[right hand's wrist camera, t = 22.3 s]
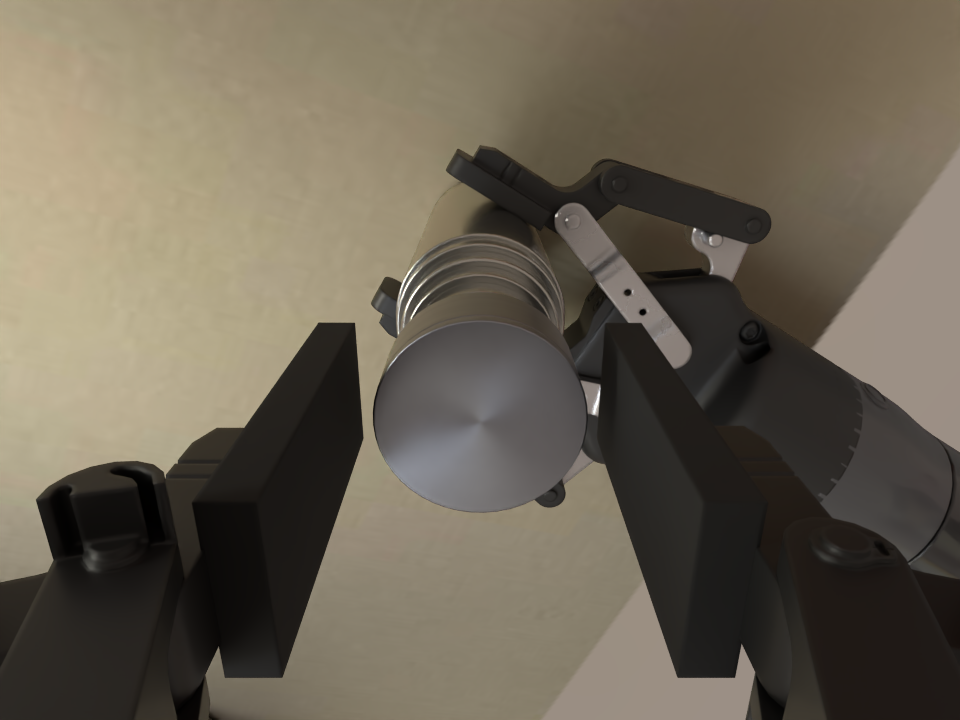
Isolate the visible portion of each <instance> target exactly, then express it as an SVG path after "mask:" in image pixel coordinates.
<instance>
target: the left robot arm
mask: <svg viewBox="0 0 960 720" xmlns="http://www.w3.org/2000/svg"><path fill="white" fill-rule="evenodd" d="M446 171H447V172H448V173H449V174H451V175H452V176H453V177H455V178H456V179H458V180H459V181H461V182H463V183H464V184H466V185H467V186H469V187H471V188H472V189H474V190H475V191H477V192H479V193H480V194H482V195H483V196H485V197H487V198H488V199H490V200H491V201H493V202H495V203H496V204H498V205H500V206H501V207H503V208H504V209H506V210H508V211H509V212H511V213H513V214H515V215H516V216H518V217H520V218H521V219H522V220H524V221H525V222H527V223H528V224H530V225H532V226H533V227H535V228H536V229H538V230H540V231H541V230H542V228H543V226H546V227H548V228H549V229H551V230H552V231H554V232H556V233H557V234H559V235H560V236H561V237H562V238H563V240H564V241H565V242H566V243H567V245H568V246H569V247H570V248H571V250H572V251H573V252H574V253H575V255H576V256H577V257H578V259H579V260H580V261H581V262H582V264H583V265H584V266H585V267H586V269H587V270H588V271H589V273H590V274H591V276H592V277H593V278H594V280H595V281H596V282H597V284H596V285H595V286H594V288H593V289H592V291H591V292H590V294H589V295H588V296H587V298H586V300H585V303H584V305H583V308H582V311H581V314H580V316H579V318H578V319H577V320H576V321H575V322H574V323H573V324H572V325H570V326H569V327H568V328H567V329H566V330H565V331H564V334H563V337H564V339H565V341H566V343H567V345H568V346H569V349H570V352H571V355H572V358H573V361H574V363H575V366H576V369H577V372H578V375H579V378H580V381H581V383H582V386H583V389H584V392H585V396H586V401H587V408H588V423H587V432H586V436H585V440H584V443H583V446H582V448H581V451H580V453H579V455H578V457H577V459H576V461H575V462H574V464H573V466H572V467H571V468H570V470H569V471H568V472H567V474H566V475H565V476H564V477H563V478H562V479H561V480H560V481H559V482H558V483H557V484H556V485H555V486H554V487H552V488H551V489H550V490H549V491H547V492H546V493H544V494H543V495H541V496H539V497H538V498H536V499H534V500H535V501H536V502H538V503H539V504H540V505H542V506H544V507H555V506H558V505H559V504H561V503H562V502H563V500H564V498H565V488H564V484H565V483H566V482H568V481H569V480H570V479H572V478H573V477H574V476H575V475H577V474H578V473H579V472H580V471H582V470H583V469H584V468H586V467H587V466H588V465H589V464H591V463H592V462H593V461H595V462H598V463H601V464H605V462H604V459H603V456H602V453H601V450H600V447H599V444H598V441H597V426H598V412H599V398H600V385H601V371H602V358H603V344H604V331H605V323H642V324H643V326H644V327H645V329H646V330H647V331H648V333H649V334H650V336H651V337H652V339H653V340H654V341H655V343H656V344H657V346H658V347H659V348H660V350H661V351H662V353H663V354H664V355H665V357H666V358H667V360H668V361H669V363H670V364H671V365H672V367H673V368H674V370H675V371H676V372H677V374H678V375H679V377H680V378H681V380H682V381H683V382H684V384H685V385H686V387H687V388H688V389H689V391H690V392H691V394H692V395H693V397H694V398H695V399H696V401H697V402H698V404H699V405H700V406H701V408H702V409H703V411H704V412H705V414H706V415H707V416H708V418H709V419H710V421H711V422H712V423H713V425H714V426H745V427H746V428H748V429H750V430H751V431H753V432H755V433H756V434H758V435H760V436H761V437H763V438H765V439H766V440H768V441H769V442H770V443H771V445H772V446H773V447H774V448H775V450H776V451H777V452H778V453H779V454H780V456H781V457H782V460H783V461H785V462H786V463H787V464H788V465H789V466H790V468H791V469H792V470H793V471H794V472H795V476H798V477H799V478H800V480H801V481H802V482H803V483H804V484H805V486H806V487H807V488H808V489H809V490H810V492H811V493H812V494H813V495H814V496H815V498H816V499H817V500H818V501H819V502H820V504H821V505H822V506H823V507H824V508H825V510H826V511H827V512H828V513H829V514H830V516H831V517H832V518H834V519H838V520H843V521H847V522H851V523H855V524H857V525H860V526H862V527H864V528H867V529H869V530H871V531H874V532H876V533H878V534H879V535H881V536H882V537H884V538H885V539H886V540H888V541H889V542H891V543H892V544H894V545H895V546H896V547H897V548H898V550H899V551H900V552H901V553H902V555H903V556H904V557H905V558H906V559H907V561H908V563H909V565H910V567H911V569H913V570H917V571H921V572H925V573H930V574H935V575H940V576H945V577H950V578H955V579H960V452H958V451H957V450H955V449H954V448H952V447H950V446H949V445H947V444H946V443H944V442H943V441H941V440H939V439H938V438H936V437H935V436H933V435H932V434H931V433H929V432H928V431H926V430H925V429H924V428H922V427H921V426H920V425H919V424H918V423H917V422H916V421H914V420H913V419H912V418H911V417H910V416H909V415H908V414H907V413H906V412H905V411H904V410H902V409H901V408H900V407H899V406H898V405H896V404H895V403H894V402H892V401H891V400H889V399H888V398H886V397H885V396H883V395H882V394H881V393H880V392H879V391H878V390H876V389H875V388H874V387H873V386H871V385H869V384H866V383H864V382H862V381H860V380H859V379H857V378H856V377H854V376H852V375H851V374H849V373H848V372H846V371H845V370H843V369H841V368H840V367H838V366H837V365H835V364H834V363H832V362H831V361H829V360H827V359H826V358H824V357H823V356H821V355H820V354H818V353H817V352H815V351H813V350H812V349H810V348H809V347H807V346H806V345H804V344H803V343H801V342H799V341H798V340H796V339H795V338H793V337H792V336H790V335H789V334H787V333H785V332H784V331H782V330H781V329H779V328H778V327H776V326H775V325H773V324H771V323H770V322H768V321H767V320H765V319H764V318H762V317H761V316H759V315H757V314H756V313H754V312H753V311H751V310H750V309H748V308H747V306H746V305H745V303H744V302H743V300H742V298H741V295H740V292H739V290H738V289H737V287H736V286H735V285H734V284H733V283H732V282H733V279H734V277H735V275H736V273H737V271H738V268H739V266H740V264H741V262H742V259H743V257H744V255H745V253H746V251H747V248H748V246H749V244H754V243H757V242H760V241H761V240H763V239H764V238H765V237H766V236H767V234H768V233H769V231H770V228H771V218H770V216H769V214H768V213H767V212H766V211H765V210H763V209H761V208H758V207H756V206H754V205H751V204H749V203H746V202H744V201H741V200H739V199H736V198H733V197H730V196H727V195H724V194H721V193H717V192H714V191H711V190H708V189H705V188H702V187H698V186H695V185H692V184H689V183H686V182H683V181H679V180H676V179H673V178H670V177H667V176H664V175H660V174H657V173H654V172H651V171H648V170H645V169H641V168H638V167H635V166H632V165H629V164H625V163H622V162H619V161H616V160H613V159H602V160H600V161H598V162H597V163H595V165H594V166H593V167H592V169H591V171H590V172H589V173H588V174H587V175H586V176H584V177H583V178H582V179H580V180H579V181H578V182H577V183H575V184H573V185H571V186H568V187H557V186H554V185H552V184H551V183H549V182H547V181H546V180H544V179H543V178H541V177H540V176H538V175H537V174H535V173H533V172H532V171H530V170H529V169H527V168H526V167H524V166H523V165H521V164H519V163H518V162H516V161H515V160H513V159H512V158H510V157H508V156H507V155H505V154H504V153H502V152H501V151H499V150H498V149H496V148H493V147H487V146H481V145H480V146H479V148H478V150H477V151H476V153H475V155H474V156H473V157H472V156H470V155H468V154H467V153H465V152H463V151H462V150H460V149H457V151H456V153H455V154H454V156H453V158H452V160H451V161H450V163H449V165H448V167H447V169H446ZM618 204H620V205H623V206H626V207H629V208H633V209H636V210H639V211H642V212H646V213H649V214H652V215H655V216H659V217H662V218H665V219H668V220H672V221H675V222H678V223H681V224H685V225H686V227H685V231H684V235H685V239H686V241H687V243H688V244H689V245H691V246H692V247H694V248H695V249H696V250H698V251H699V252H700V253H701V254H702V257H703V265H702V268H695V269H682V270H669V271H656V272H643V273H635V271H634V270H633V269H632V267H631V266H630V265H629V263H628V262H627V261H626V259H625V258H624V257H623V256H622V254H621V253H620V252H619V251H618V249H617V248H616V247H615V245H614V244H613V243H612V241H611V240H610V239H609V238H608V236H607V235H606V234H605V232H604V231H603V230H602V228H601V227H600V226H599V224H598V223H597V222H596V221H597V220H598V219H600V218H601V217H602V216H604V215H605V214H606V213H608V212H609V211H610V210H611V209H613V208H614V207H615V206H617V205H618ZM401 285H402V283H401V282H399V281H397V280H395V279H393V278H390V277H385V278H384V280H383V282H382V284H381V285H380V287H379V289H378V291H377V292H376V294H375V296H374V298H373V300H372V302H371V304H372V306H373V307H374V308H375V309H376V310H377V311H379V312H380V313H382V314H383V315H382V318H381V320H380V322H379V323H380V324H381V325H382V327H383V328H384V329H385V330H386V331H387V332H388V334H390V335H391V336H393V337H395V338H397V337H398V336H397V326H396V305H397V299H398V294H399V291H400V288H401ZM208 720H212V719H211V718H209V717H208Z"/></svg>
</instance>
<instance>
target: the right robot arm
mask: <svg viewBox="0 0 960 720" xmlns="http://www.w3.org/2000/svg"><path fill="white" fill-rule="evenodd" d="M362 441H363V426H362V412H361V399H360V385H359V372H358V358H357V344H356V331H355V323H318V324H317V326H316V327H315V329H314V330H313V331H312V333H311V334H310V336H309V337H308V339H307V340H306V341H305V343H304V344H303V346H302V347H301V348H300V350H299V351H298V353H297V354H296V355H295V357H294V358H293V360H292V361H291V363H290V364H289V365H288V367H287V368H286V370H285V371H284V372H283V374H282V375H281V377H280V378H279V380H278V381H277V382H276V384H275V385H274V387H273V388H272V389H271V391H270V392H269V394H268V395H267V397H266V398H265V399H264V401H263V402H262V404H261V405H260V406H259V408H258V409H257V411H256V412H255V413H254V415H253V416H252V418H251V419H250V421H249V422H248V423H247V425H246V426H245V428H216V429H214V430H213V431H211V432H209V433H208V434H206V435H204V436H203V437H201V438H199V439H198V440H196V441H195V442H193V443H192V444H191V445H190V446H189V447H188V449H187V450H186V451H185V452H184V454H183V455H182V456H181V457H180V458H179V460H178V464H174V466H173V467H172V468H171V469H170V470H169V472H168V473H167V474H166V479H165V476H164V472H163V471H162V470H160V469H159V468H158V467H156V466H155V465H153V464H148V463H143V462H139V461H126V462H112V463H107V464H102V465H97V466H93V467H89V468H86V469H84V470H81V471H78V472H76V473H73V474H70V475H68V476H66V477H64V478H62V479H61V480H59V481H57V482H56V483H54V484H52V485H50V486H49V487H48V488H47V489H46V490H45V491H44V492H43V493H42V494H41V495H40V496H39V497H38V498H37V499H36V502H37V505H38V509H39V512H40V515H41V519H42V522H43V526H44V529H45V532H46V536H47V539H48V543H49V546H50V550H51V553H52V556H53V560H54V561H53V563H52V565H51V567H50V569H49V571H48V572H47V573H43V574H39V575H35V576H30V577H25V578H20V579H15V580H10V581H5V582H0V720H208V716H209V708H210V699H209V692H208V686H207V681H206V676H205V674H206V672H207V670H208V668H209V665H210V663H211V661H212V659H213V657H214V655H215V653H216V651H217V649H218V646H219V649H220V654H221V659H222V665H223V670H224V675H225V678H282V677H283V674H284V671H285V668H286V665H287V662H288V660H289V657H290V654H291V651H292V648H293V645H294V642H295V639H296V636H297V633H298V630H299V627H300V624H301V621H302V618H303V615H304V612H305V609H306V606H307V603H308V600H309V598H310V595H311V592H312V589H313V586H314V583H315V580H316V577H317V574H318V571H319V568H320V565H321V562H322V559H323V556H324V553H325V550H326V547H327V544H328V541H329V539H330V536H331V533H332V530H333V527H334V524H335V521H336V518H337V515H338V512H339V509H340V506H341V503H342V500H343V497H344V494H345V491H346V488H347V485H348V482H349V480H350V477H351V474H352V471H353V468H354V465H355V462H356V459H357V456H358V453H359V450H360V447H361V444H362ZM597 441H598V444H599V447H600V450H601V453H602V456H603V459H604V462H605V465H606V468H607V471H608V474H609V477H610V480H611V482H612V485H613V488H614V491H615V494H616V497H617V500H618V503H619V506H620V509H621V512H622V515H623V518H624V521H625V524H626V527H627V530H628V533H629V536H630V539H631V541H632V544H633V547H634V550H635V553H636V556H637V559H638V562H639V565H640V568H641V571H642V574H643V577H644V580H645V583H646V586H647V589H648V592H649V595H650V598H651V601H652V603H653V606H654V609H655V612H656V615H657V618H658V621H659V624H660V627H661V630H662V633H663V636H664V639H665V642H666V645H667V648H668V651H669V653H670V657H671V659H672V662H673V665H674V668H675V671H676V674H677V677H678V678H735V675H736V670H737V665H738V659H739V654H740V649H741V644H742V645H743V647H744V649H745V651H746V653H747V656H748V658H749V660H750V662H751V664H752V666H753V668H754V670H755V676H754V681H753V686H752V691H751V696H750V701H749V706H748V711H747V715H746V720H960V579H955V578H950V577H945V576H940V575H935V574H930V573H925V572H921V571H917V570H913V569H911V567H910V565H909V563H908V561H907V559H906V558H905V557H904V556H903V555H902V553H901V552H900V551H899V550H898V548H897V547H896V546H895V545H894V544H892V543H891V542H889V541H888V540H886V539H885V538H884V537H882V536H881V535H879V534H878V533H876V532H874V531H871V530H869V529H867V528H864V527H862V526H860V525H857V524H855V523H851V522H847V521H843V520H838V519H834V518H832V517H831V516H830V514H829V513H828V512H827V511H826V510H825V508H824V507H823V506H822V505H821V504H820V502H819V501H818V500H817V499H816V498H815V496H814V495H813V494H812V493H811V492H810V490H809V489H808V488H807V487H806V486H805V484H804V483H803V482H802V481H801V480H800V478H799V477H798V476H795V472H794V471H793V470H792V469H791V468H790V466H789V465H788V464H787V463H786V462H785V461H783V460H782V457H781V456H780V454H779V453H778V452H777V451H776V450H775V448H774V447H773V446H772V445H771V443H770V442H769V441H768V440H766V439H765V438H763V437H761V436H760V435H758V434H756V433H755V432H753V431H751V430H750V429H748V428H746V427H745V426H714V425H713V423H712V422H711V421H710V419H709V418H708V416H707V415H706V414H705V412H704V411H703V409H702V408H701V406H700V405H699V404H698V402H697V401H696V399H695V398H694V397H693V395H692V394H691V392H690V391H689V389H688V388H687V387H686V385H685V384H684V382H683V381H682V380H681V378H680V377H679V375H678V374H677V372H676V371H675V370H674V368H673V367H672V365H671V364H670V363H669V361H668V360H667V358H666V357H665V355H664V354H663V353H662V351H661V350H660V348H659V347H658V346H657V344H656V343H655V341H654V340H653V339H652V337H651V336H650V334H649V333H648V331H647V330H646V329H645V327H644V326H643V324H642V323H605V331H604V344H603V358H602V371H601V385H600V398H599V412H598V426H597Z"/></svg>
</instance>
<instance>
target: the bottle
mask: <svg viewBox="0 0 960 720" xmlns="http://www.w3.org/2000/svg"><path fill="white" fill-rule="evenodd" d="M472 292H491V293H497V294H503V295H507V296H510V297H514V298H516V299H519V300H521V301H523V302H526V303H528V304H529V305H531V306H533V307H534V308H536V309H538V310H539V311H540V312H541V313H543V314H544V315H545V316H546V317H548V318H549V319H550V320H551V322H552V323H553V324H554V325H555V326H556V327H557V328H558V330H559V331H560V333H561V334H562V335H563V334H564V318H565V308H564V300H563V296H562V292H561V289H560V286H559V283H558V281H557V279H556V276H555V274H554V271H553V269H552V266H551V264H550V262H549V259H548V257H547V254H546V252H545V250H544V247H543V245H542V242H541V240H540V237H539V235H538V233H537V230H536V228H535V227H533V226H532V225H530V224H528V223H527V222H525V221H524V220H522V219H521V218H520V217H518V216H516V215H515V214H513V213H511V212H509V211H508V210H506V209H504V208H503V207H501V206H500V205H498V204H496V203H495V202H493V201H491V200H490V199H488V198H487V197H485V196H483V195H482V194H480V193H479V192H477V191H475V190H474V189H472V188H471V187H469V186H467V185H466V184H464V183H463V182H462V183H459V184H457V185H455V186H454V187H452V188H450V189H449V190H448V191H447V192H445V193H444V194H443V195H442V196H441V197H440V199H439V200H438V201H437V203H436V204H435V206H434V208H433V210H432V212H431V215H430V217H429V220H428V222H427V224H426V227H425V229H424V232H423V234H422V237H421V239H420V241H419V244H418V246H417V249H416V251H415V253H414V256H413V258H412V261H411V263H410V266H409V268H408V270H407V273H406V275H405V278H404V280H403V282H402V285H401V288H400V291H399V294H398V299H397V305H396V326H397V336H398V335H399V334H400V332H401V331H402V329H403V328H404V327H405V326H406V325H407V323H408V322H409V321H410V320H411V319H412V318H413V317H415V316H416V315H417V314H418V313H419V312H421V311H422V310H424V309H425V308H426V307H428V306H430V305H432V304H434V303H435V302H437V301H439V300H442V299H445V298H447V297H450V296H454V295H458V294H463V293H472Z"/></svg>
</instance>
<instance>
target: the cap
mask: <svg viewBox="0 0 960 720" xmlns="http://www.w3.org/2000/svg"><path fill="white" fill-rule="evenodd" d="M587 423H588V408H587V401H586V396H585V392H584V389H583V386H582V383H581V381H580V378H579V375H578V372H577V369H576V366H575V363H574V361H573V358H572V355H571V352H570V349H569V346H568V345H567V343H566V341H565V339H564V337H563V335H562V334H561V333H560V331H559V330H558V328H557V327H556V326H555V325H554V324H553V323H552V322H551V320H550V319H549V318H548V317H546V316H545V315H544V314H543V313H541V312H540V311H539V310H538V309H536V308H534V307H533V306H531V305H529V304H528V303H526V302H523V301H521V300H519V299H516V298H514V297H510V296H507V295H503V294H497V293H491V292H472V293H463V294H458V295H454V296H450V297H447V298H445V299H442V300H439V301H437V302H435V303H434V304H432V305H430V306H428V307H426V308H425V309H424V310H422V311H421V312H419V313H418V314H417V315H416V316H415V317H413V318H412V319H411V320H410V321H409V322H408V323H407V325H406V326H405V327H404V328H403V329H402V331H401V332H400V334H399V335H398V337H397V339H396V340H395V342H394V344H393V346H392V349H391V351H390V354H389V357H388V359H387V362H386V365H385V368H384V371H383V374H382V377H381V379H380V382H379V385H378V388H377V392H376V396H375V399H374V407H373V426H374V432H375V437H376V440H377V443H378V446H379V449H380V451H381V453H382V455H383V457H384V459H385V461H386V463H387V464H388V466H389V467H390V469H391V470H392V472H393V473H394V474H395V475H396V476H397V477H398V478H399V479H400V481H401V482H403V483H404V484H405V485H406V486H407V487H408V488H410V489H411V490H412V491H414V492H415V493H417V494H418V495H420V496H421V497H423V498H425V499H427V500H429V501H431V502H433V503H435V504H438V505H440V506H443V507H446V508H450V509H454V510H458V511H466V512H483V513H484V512H496V511H502V510H507V509H511V508H514V507H517V506H521V505H523V504H526V503H528V502H530V501H532V500H534V499H536V498H538V497H539V496H541V495H543V494H544V493H546V492H547V491H549V490H550V489H551V488H552V487H554V486H555V485H556V484H557V483H558V482H559V481H560V480H561V479H562V478H563V477H564V476H565V475H566V474H567V472H568V471H569V470H570V468H571V467H572V466H573V464H574V462H575V461H576V459H577V457H578V455H579V453H580V451H581V448H582V446H583V443H584V440H585V436H586V432H587Z"/></svg>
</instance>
